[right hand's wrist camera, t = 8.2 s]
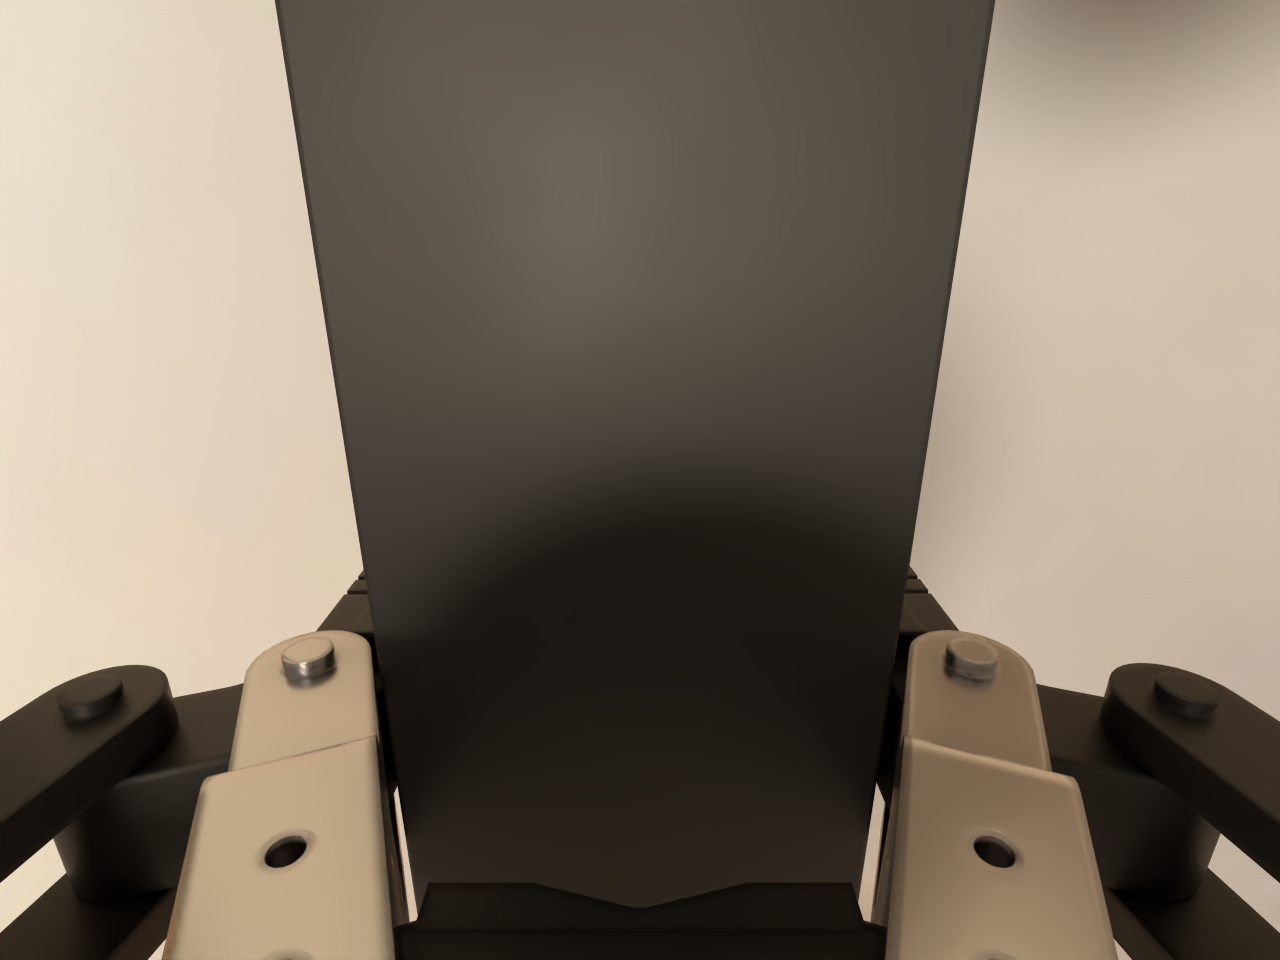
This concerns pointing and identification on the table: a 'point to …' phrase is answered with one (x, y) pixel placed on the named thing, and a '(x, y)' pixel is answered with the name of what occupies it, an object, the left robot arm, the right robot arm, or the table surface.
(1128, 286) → the table surface
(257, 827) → the right robot arm
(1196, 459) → the table surface
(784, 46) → the bar
